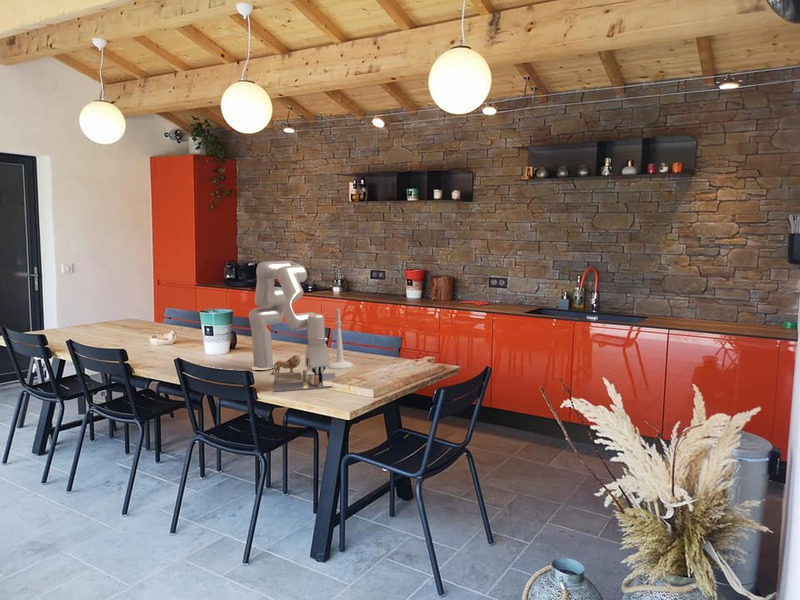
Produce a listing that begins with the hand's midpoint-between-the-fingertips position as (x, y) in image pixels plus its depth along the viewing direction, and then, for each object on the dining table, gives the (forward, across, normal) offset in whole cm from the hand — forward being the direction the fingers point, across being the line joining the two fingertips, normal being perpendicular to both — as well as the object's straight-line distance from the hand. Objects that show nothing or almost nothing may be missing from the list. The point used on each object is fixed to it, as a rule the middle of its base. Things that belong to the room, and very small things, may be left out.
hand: (318, 382), depth 261 cm
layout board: (+1, +2, -8) cm, 8 cm away
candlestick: (+2, -27, -25) cm, 37 cm away
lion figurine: (+2, 0, -31) cm, 31 cm away
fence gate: (0, +3, -1) cm, 3 cm away
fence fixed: (+1, +8, -12) cm, 14 cm away
